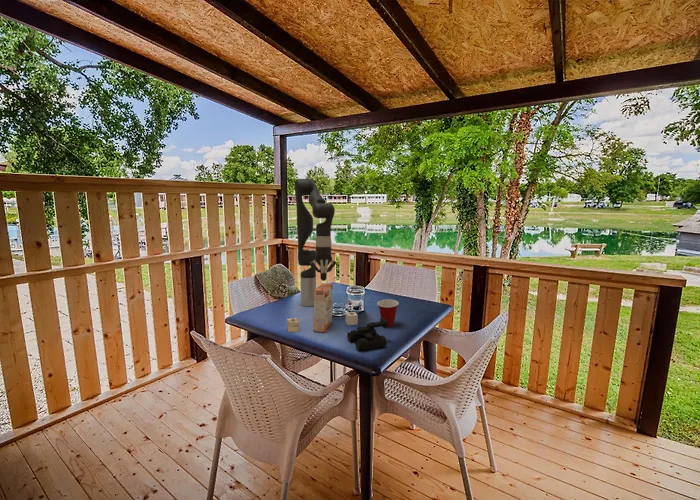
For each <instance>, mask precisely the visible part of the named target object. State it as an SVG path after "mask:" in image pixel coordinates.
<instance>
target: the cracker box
mask: <svg viewBox="0 0 700 500" xmlns="http://www.w3.org/2000/svg"><path fill="white" fill-rule="evenodd" d="M333 288H334V287H333V283H330V282H328V283H327V282H323V283H321V284H319V285H318V286H316V289H315V290H314V306H313V331H314V332H315V333H316V332H319V333H326V332H327V330H328V329H329V327H330V326H331V325H332V323H333Z"/></svg>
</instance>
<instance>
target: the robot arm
mask: <svg viewBox="0 0 700 500" xmlns="http://www.w3.org/2000/svg"><path fill="white" fill-rule="evenodd" d="M294 193H295V194H294V195H295V202H296V203H295V205H296V229H297V230H296V231H297V263H298V266H303V267H305V266H306V267H307V266H308V267H309V266H310V267H309V268H307V269H305V270H302V271H301V272H300V306H302V307H314V290H315V289H316V288H317V273H319V274H320V275H319V277H320V280H321V281H322V282H323V281H324V282H326V280H327V275H328V274H327V273H330V272H332V270H333V268H334V267H335V266H336V264H337V261H336V260H334V259H333V257H332V237H331V235H332V232H331V231H332V224H333V219H334V216H335V210H336V209H335V206H334V205H333V204H332V203H329V202H328V203H327V202H326V201H325V199H324V198H323V196H322V195H321V194H320V191H319V188H318V186H317V184H316V182H315V180H314V179H313V178H297V179H295V181H294ZM304 196H308V203H309V205H310V206H311V209H312V211H311V212H312V213H311V212H310V211H309V209H308V208H307V207H306V205H305V204H304V201H303V197H304ZM312 215H313V216H312ZM313 217H314V218H316V219H324V221H323V222H320V223H317V224H316V226H315V250H313V249H312V250H311V249H304V247H305V244H306V243H307V241H308V239H309V238H310V237H311V235H312V233H313V231H314V218H313ZM317 265H318V266H319V268H318V266H317Z"/></svg>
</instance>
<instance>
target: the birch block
mask: <svg viewBox="0 0 700 500" xmlns="http://www.w3.org/2000/svg"><path fill="white" fill-rule="evenodd" d="M286 319H287V322H286V323H287V324H286V325H287V331H288V333H298V332H300V320H299V319H298V317H295V318H293V317H292V318H286Z"/></svg>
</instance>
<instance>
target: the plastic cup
mask: <svg viewBox="0 0 700 500" xmlns="http://www.w3.org/2000/svg"><path fill="white" fill-rule="evenodd" d="M377 306H378V310H379V315H380V318H384V319H385V320H387V321H388V325H387V328H391V327H394V324H395V319H396V315H397V310H398V307H399V301H397V300H395V299H382V300H379V301H377Z"/></svg>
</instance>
